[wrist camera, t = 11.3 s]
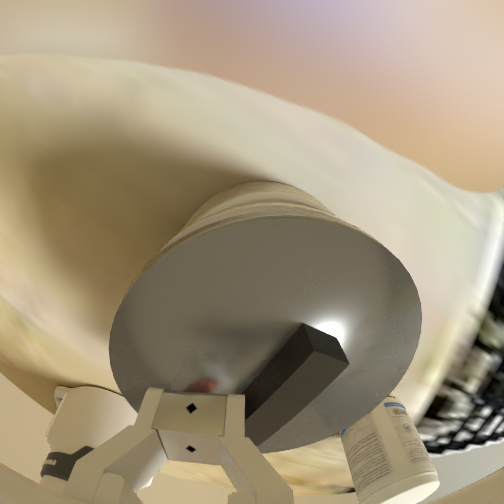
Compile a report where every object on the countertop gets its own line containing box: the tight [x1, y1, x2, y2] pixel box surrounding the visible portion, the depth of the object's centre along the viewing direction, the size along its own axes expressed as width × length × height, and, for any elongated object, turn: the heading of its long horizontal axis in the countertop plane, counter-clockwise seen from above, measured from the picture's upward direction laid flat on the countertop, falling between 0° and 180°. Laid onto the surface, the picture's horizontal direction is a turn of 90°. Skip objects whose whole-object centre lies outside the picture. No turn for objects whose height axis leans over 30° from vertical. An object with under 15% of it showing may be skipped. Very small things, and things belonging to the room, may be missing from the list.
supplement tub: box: [340, 397, 440, 504], centre depth 27 cm, size 10×10×15 cm
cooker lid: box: [109, 210, 422, 453], centre depth 13 cm, size 16×16×3 cm
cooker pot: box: [157, 181, 347, 254], centre depth 22 cm, size 21×16×11 cm
